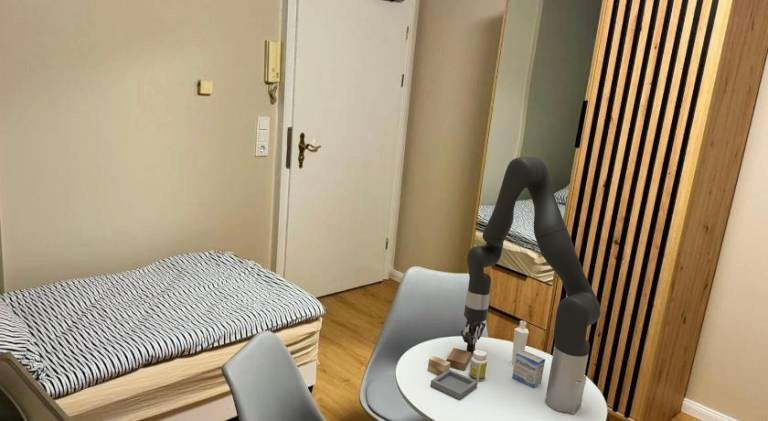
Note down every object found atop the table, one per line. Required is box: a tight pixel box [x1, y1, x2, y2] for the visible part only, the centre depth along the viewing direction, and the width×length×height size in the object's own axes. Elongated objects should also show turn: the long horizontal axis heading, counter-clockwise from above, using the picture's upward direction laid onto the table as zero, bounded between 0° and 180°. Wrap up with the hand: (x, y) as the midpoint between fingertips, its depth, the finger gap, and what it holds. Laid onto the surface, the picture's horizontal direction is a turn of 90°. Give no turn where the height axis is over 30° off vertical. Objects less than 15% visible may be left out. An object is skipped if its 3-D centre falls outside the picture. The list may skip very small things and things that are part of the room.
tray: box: [430, 368, 479, 401], centre depth 161 cm, size 10×10×2 cm
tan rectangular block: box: [427, 355, 451, 376], centre depth 169 cm, size 6×3×4 cm, turn 52°
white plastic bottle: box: [510, 320, 530, 366], centre depth 178 cm, size 5×4×15 cm
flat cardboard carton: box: [445, 347, 472, 372], centre depth 176 cm, size 6×9×3 cm, turn 159°
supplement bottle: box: [468, 349, 488, 382], centre depth 167 cm, size 5×5×8 cm
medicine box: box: [511, 350, 546, 389], centre depth 168 cm, size 8×4×9 cm, turn 47°
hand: (470, 352), depth 182 cm, fingers closed
